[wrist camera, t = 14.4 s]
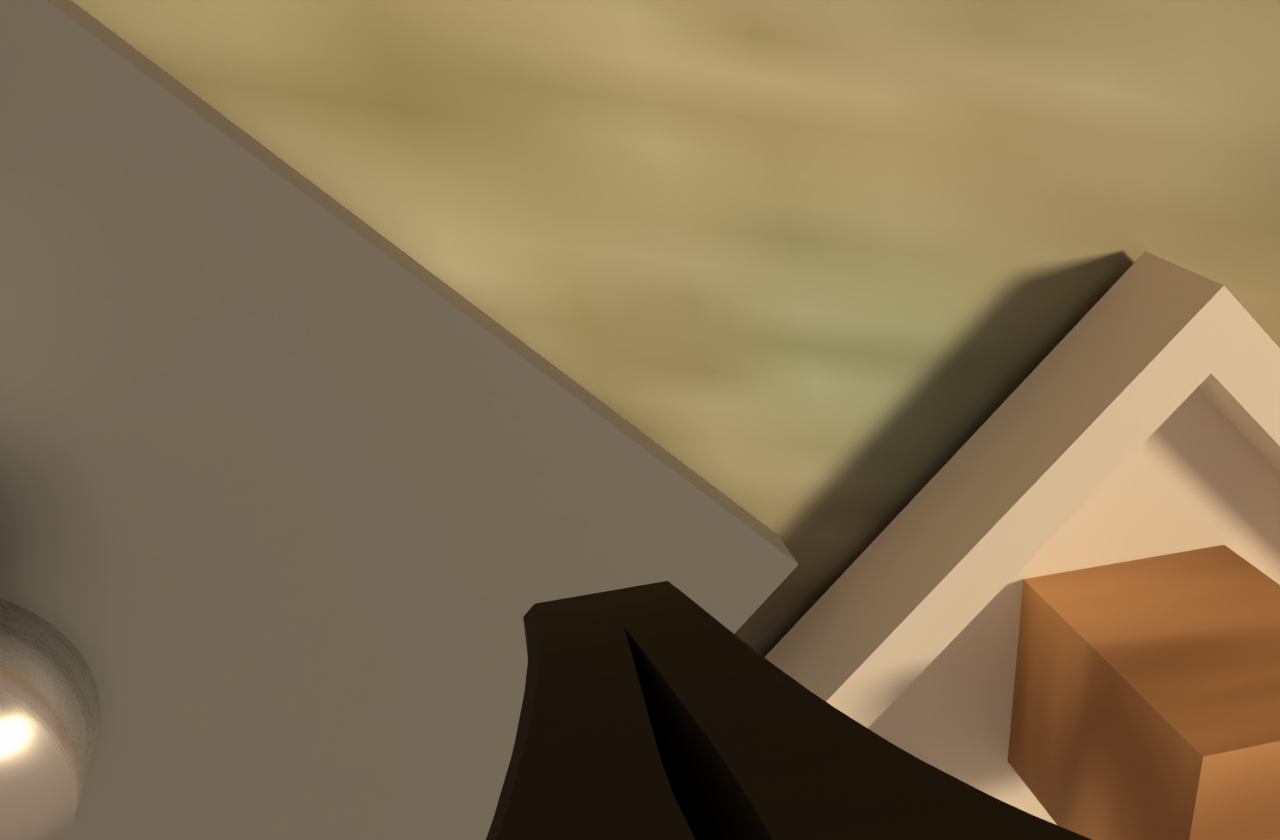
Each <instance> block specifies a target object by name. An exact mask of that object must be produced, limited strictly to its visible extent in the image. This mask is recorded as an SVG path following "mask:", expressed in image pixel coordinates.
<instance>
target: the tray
mask: <svg viewBox="0 0 1280 840" xmlns="http://www.w3.org/2000/svg"><path fill="white" fill-rule="evenodd" d="M1219 545H1225V546H1227V547H1228V548H1230V549H1231V550H1232V551H1234V552H1235V553H1236V554H1238V555H1239V556H1241V557H1242V558H1243V559H1245V560H1246V561H1248V562H1249V563H1250V564H1252V565H1253V566H1254V567H1256V568H1257V569H1259V570H1260V571H1261V572H1263V573H1264V574H1265V575H1267V576H1268V577H1270V578H1271V579H1272V580H1274V581H1275V582H1276V583H1278V584H1279V585H1280V348H1279V347H1278V346H1277V345H1276V344H1275V343H1274V342H1273V341H1272V339H1271V338H1270V337H1269V336H1268V335H1267V334H1266V333H1265V331H1264V330H1263V329H1262V328H1261V327H1260V326H1259V325H1258V324H1257V322H1256V321H1255V320H1254V319H1253V318H1252V317H1251V316H1250V315H1249V313H1248V312H1247V311H1246V310H1245V309H1244V308H1243V307H1242V305H1241V304H1240V303H1239V302H1238V301H1237V300H1236V299H1235V298H1234V296H1233V295H1232V294H1231V293H1230V292H1229V291H1228V290H1227V288H1226V287H1225V286H1224V285H1221V284H1219V283H1217V282H1215V281H1212V280H1210V279H1208V278H1205V277H1203V276H1201V275H1198V274H1196V273H1194V272H1192V271H1189V270H1187V269H1185V268H1182V267H1180V266H1178V265H1175V264H1173V263H1171V262H1169V261H1166V260H1164V259H1162V258H1159V257H1157V256H1155V255H1152V254H1150V253H1148V252H1146V251H1145V252H1144V253H1143V254H1142V255H1141V256H1140V257H1139V258H1138V259H1137V261H1136V262H1135V263H1134V264H1133V265H1132V266H1131V267H1130V268H1129V269H1128V270H1127V271H1126V272H1125V273H1124V274H1123V275H1122V277H1121V278H1120V279H1119V280H1118V281H1117V282H1116V283H1115V284H1114V285H1113V286H1112V287H1111V288H1110V289H1109V290H1108V291H1107V293H1106V294H1105V295H1104V296H1103V297H1102V298H1101V299H1100V300H1099V301H1098V302H1097V303H1096V304H1095V305H1094V306H1093V307H1092V309H1091V310H1090V311H1089V312H1088V313H1087V314H1086V315H1085V316H1084V317H1083V318H1082V319H1081V320H1080V321H1079V322H1078V323H1077V325H1076V326H1075V327H1074V328H1073V329H1072V330H1071V331H1070V332H1069V333H1068V334H1067V335H1066V336H1065V337H1064V338H1063V339H1062V341H1061V342H1060V343H1059V344H1058V345H1057V346H1056V347H1055V348H1054V349H1053V350H1052V351H1051V352H1050V353H1049V354H1048V355H1047V357H1046V358H1045V359H1044V360H1043V361H1042V362H1041V363H1040V364H1039V365H1038V366H1037V367H1036V368H1035V369H1034V370H1033V371H1032V373H1031V374H1030V375H1029V376H1028V377H1027V378H1026V379H1025V380H1024V381H1023V382H1022V383H1021V384H1020V385H1019V386H1018V387H1017V389H1016V390H1015V391H1014V392H1013V393H1012V394H1011V395H1010V396H1009V397H1008V398H1007V399H1006V400H1005V401H1004V402H1003V403H1002V405H1001V406H1000V407H999V408H998V409H997V410H996V411H995V412H994V413H993V414H992V415H991V416H990V417H989V418H988V419H987V421H986V422H985V423H984V424H983V425H982V426H981V427H980V428H979V429H978V430H977V431H976V432H975V433H974V434H973V435H972V437H971V438H970V439H969V440H968V441H967V442H966V443H965V444H964V445H963V446H962V447H961V448H960V449H959V450H958V451H957V452H956V454H955V455H954V456H953V457H952V458H951V459H950V460H949V461H948V462H947V463H946V464H945V465H944V466H943V467H942V468H941V470H940V471H939V472H938V473H937V474H936V475H935V476H934V477H933V478H932V479H931V480H930V481H929V482H928V483H927V484H926V486H925V487H924V488H923V489H922V490H921V491H920V492H919V493H918V494H917V495H916V496H915V497H914V498H913V499H912V500H911V502H910V503H909V504H908V505H907V506H906V507H905V508H904V509H903V510H902V511H901V512H900V513H899V514H898V515H897V516H896V518H895V519H894V520H893V521H892V522H891V523H890V524H889V525H888V526H887V527H886V528H885V529H884V530H883V531H882V532H881V534H880V535H879V536H878V537H877V538H876V539H875V540H874V541H873V542H872V543H871V544H870V545H869V546H868V547H867V548H866V550H865V551H864V552H863V553H862V554H861V555H860V556H859V557H858V558H857V559H856V560H855V561H854V562H853V563H852V564H851V566H850V567H849V568H848V569H847V570H846V571H845V572H844V573H843V574H842V575H841V576H840V577H839V578H838V579H837V580H836V582H835V583H834V584H833V585H832V586H831V587H830V588H829V589H828V590H827V591H826V592H825V593H824V594H823V595H822V596H821V598H820V599H819V600H818V601H817V602H816V603H815V604H814V605H813V606H812V607H811V608H810V609H809V610H808V611H807V612H806V614H805V615H804V616H803V617H802V618H801V619H800V620H799V621H798V622H797V623H796V624H795V625H794V626H793V627H792V628H791V630H790V631H789V632H788V633H787V634H786V635H785V636H784V637H783V638H782V639H781V640H780V641H779V642H778V643H777V644H776V646H775V647H774V648H773V649H772V650H771V651H770V652H769V653H768V654H767V655H766V656H765V657H764V658H766V659H767V660H768V661H770V662H771V663H772V664H774V665H775V666H776V667H778V668H779V669H781V670H782V671H783V672H785V673H786V674H787V675H789V676H790V677H792V678H793V679H794V680H796V681H797V682H799V683H800V684H801V685H803V686H804V687H805V688H807V689H808V690H810V691H811V692H812V693H814V694H815V695H817V696H818V697H820V698H821V699H823V700H824V701H826V702H827V703H829V704H830V705H832V706H833V707H834V708H836V709H838V710H839V711H841V712H842V713H844V714H846V715H847V716H849V717H850V718H852V719H854V720H855V721H857V722H858V723H860V724H862V725H863V726H865V727H866V728H868V729H870V730H871V731H873V732H874V733H876V734H878V735H879V736H881V737H882V738H884V739H885V740H887V741H889V742H890V743H892V744H894V745H896V746H897V747H899V748H901V749H903V750H904V751H906V752H908V753H910V754H911V755H913V756H915V757H917V758H919V759H920V760H922V761H924V762H926V763H928V764H930V765H932V766H934V767H936V768H938V769H939V770H941V771H943V772H945V773H947V774H949V775H951V776H953V777H955V778H957V779H959V780H961V781H963V782H965V783H967V784H969V785H971V786H973V787H974V788H976V789H978V790H980V791H982V792H984V793H986V794H988V795H990V796H992V797H994V798H996V799H999V800H1001V801H1003V802H1005V803H1007V804H1010V805H1012V806H1014V807H1016V808H1018V809H1020V810H1023V811H1025V812H1027V813H1029V814H1031V815H1034V816H1036V817H1039V818H1041V819H1043V820H1046V821H1048V822H1051V823H1053V824H1056V823H1055V822H1054V820H1053V819H1052V818H1051V816H1050V815H1049V814H1048V813H1047V811H1046V810H1045V809H1044V807H1043V806H1042V805H1041V804H1040V802H1039V801H1038V800H1037V798H1036V797H1035V796H1034V795H1033V793H1032V792H1031V791H1030V789H1029V788H1028V787H1027V786H1026V784H1025V783H1024V782H1023V781H1022V779H1021V778H1020V777H1019V775H1018V774H1017V773H1016V772H1015V770H1014V769H1013V768H1012V766H1011V765H1010V764H1009V763H1008V750H1009V739H1010V727H1011V716H1012V705H1013V693H1014V682H1015V670H1016V659H1017V647H1018V636H1019V625H1020V613H1021V602H1022V590H1023V579H1027V578H1033V577H1039V576H1045V575H1050V574H1056V573H1062V572H1068V571H1074V570H1080V569H1085V568H1091V567H1097V566H1103V565H1109V564H1114V563H1120V562H1126V561H1132V560H1138V559H1144V558H1149V557H1155V556H1161V555H1167V554H1173V553H1179V552H1184V551H1190V550H1196V549H1202V548H1208V547H1213V546H1219ZM1056 825H1057V824H1056Z"/></svg>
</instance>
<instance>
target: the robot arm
mask: <svg viewBox="0 0 1280 840" xmlns="http://www.w3.org/2000/svg"><path fill="white" fill-rule="evenodd" d="M523 620H524V629H525V638H526V646H527V655H528V664H527V674H526V683H525V692H524V697H523V702H522V708H521V713H520V718H519V723H518V728H517V734H516V739H515V743H514V748H513V752H512V756H511V759H510V763H509V766H508V770H507V773H506V777H505V780H504V783H503V787H502V790H501V794H500V797H499V801H498V804H497V807H496V811H495V814H494V817H493V820H492V823H491V826H490V829H489V832H488V835H487V838H486V840H1092V839H1089V838H1087V837H1085V836H1082V835H1080V834H1077V833H1075V832H1072V831H1070V830H1068V829H1065V828H1063V827H1060V826H1058V825H1056V824H1053V823H1051V822H1048V821H1046V820H1043V819H1041V818H1039V817H1036V816H1034V815H1031V814H1029V813H1027V812H1025V811H1023V810H1020V809H1018V808H1016V807H1014V806H1012V805H1010V804H1007V803H1005V802H1003V801H1001V800H999V799H996V798H994V797H992V796H990V795H988V794H986V793H984V792H982V791H980V790H978V789H976V788H974V787H973V786H971V785H969V784H967V783H965V782H963V781H961V780H959V779H957V778H955V777H953V776H951V775H949V774H947V773H945V772H943V771H941V770H939V769H938V768H936V767H934V766H932V765H930V764H928V763H926V762H924V761H922V760H920V759H919V758H917V757H915V756H913V755H911V754H910V753H908V752H906V751H904V750H903V749H901V748H899V747H897V746H896V745H894V744H892V743H890V742H889V741H887V740H885V739H884V738H882V737H881V736H879V735H878V734H876V733H874V732H873V731H871V730H870V729H868V728H866V727H865V726H863V725H862V724H860V723H858V722H857V721H855V720H854V719H852V718H850V717H849V716H847V715H846V714H844V713H842V712H841V711H839V710H838V709H836V708H834V707H833V706H832V705H830V704H829V703H827V702H826V701H824V700H823V699H821V698H820V697H818V696H817V695H815V694H814V693H812V692H811V691H810V690H808V689H807V688H805V687H804V686H803V685H801V684H800V683H799V682H797V681H796V680H794V679H793V678H792V677H790V676H789V675H787V674H786V673H785V672H783V671H782V670H781V669H779V668H778V667H776V666H775V665H774V664H772V663H771V662H770V661H768V660H767V659H766V658H764V657H763V656H762V655H761V654H759V653H758V652H757V651H755V650H754V649H753V648H751V647H750V646H749V645H748V644H746V643H745V642H744V641H743V640H741V639H740V638H739V637H738V636H736V635H735V634H734V633H733V632H731V631H730V630H729V629H727V628H726V627H725V626H724V625H723V624H721V623H720V622H719V621H718V620H716V619H715V618H714V617H713V616H711V615H710V614H709V613H708V612H707V611H705V610H704V609H703V608H702V607H700V606H699V605H698V604H697V603H695V602H694V601H693V600H692V599H690V598H689V597H688V596H687V595H685V594H684V593H683V592H682V591H680V590H679V589H678V588H676V587H675V586H674V585H673V584H671V583H670V582H669V581H663V582H657V583H652V584H646V585H640V586H634V587H628V588H622V589H617V590H611V591H605V592H599V593H593V594H587V595H582V596H576V597H570V598H564V599H558V600H552V601H547V602H541V603H535V604H534V605H533V606H532V607H531V608H530V610H529V611H528V612H527V613H526V614H525V615H524V617H523Z"/></svg>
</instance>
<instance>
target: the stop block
mask: <svg viewBox="0 0 1280 840" xmlns="http://www.w3.org/2000/svg"><path fill="white" fill-rule="evenodd" d="M1008 763H1009V764H1010V765H1011V766H1012V768H1013V769H1014V770H1015V772H1016V773H1017V774H1018V775H1019V777H1020V778H1021V779H1022V781H1023V782H1024V783H1025V784H1026V786H1027V787H1028V788H1029V789H1030V791H1031V792H1032V793H1033V795H1034V796H1035V797H1036V798H1037V800H1038V801H1039V802H1040V804H1041V805H1042V806H1043V807H1044V809H1045V810H1046V811H1047V813H1048V814H1049V815H1050V816H1051V818H1052V819H1053V820H1054V822H1055V823H1056V824H1057V825H1058V826H1060V827H1063V828H1065V829H1068V830H1070V831H1072V832H1075V833H1077V834H1080V835H1082V836H1085V837H1087V838H1089V839H1092V840H1280V585H1279V584H1278V583H1276V582H1275V581H1274V580H1272V579H1271V578H1270V577H1268V576H1267V575H1265V574H1264V573H1263V572H1261V571H1260V570H1259V569H1257V568H1256V567H1254V566H1253V565H1252V564H1250V563H1249V562H1248V561H1246V560H1245V559H1243V558H1242V557H1241V556H1239V555H1238V554H1236V553H1235V552H1234V551H1232V550H1231V549H1230V548H1228V547H1227V546H1225V545H1219V546H1213V547H1208V548H1202V549H1196V550H1190V551H1184V552H1179V553H1173V554H1167V555H1161V556H1155V557H1149V558H1144V559H1138V560H1132V561H1126V562H1120V563H1114V564H1109V565H1103V566H1097V567H1091V568H1085V569H1080V570H1074V571H1068V572H1062V573H1056V574H1050V575H1045V576H1039V577H1033V578H1027V579H1023V590H1022V602H1021V613H1020V625H1019V636H1018V647H1017V659H1016V670H1015V682H1014V693H1013V705H1012V716H1011V727H1010V739H1009V750H1008Z"/></svg>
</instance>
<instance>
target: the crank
mask: <svg viewBox="0 0 1280 840" xmlns="http://www.w3.org/2000/svg"><path fill="white" fill-rule="evenodd" d="M100 712H101V711H100V700H99V694H98V690H97V686H96V682H95V680H94V677H93V675H92V673H91V670H90V668H89V666H88V665H87V663H86V661H85V660H84V658H83V657H82V655H81V653H80V652H79V651H78V650H77V649H76V647H75V646H74V645H73V644H72V643H71V642H70V640H69V639H68V638H67V637H65V636H64V635H63V634H62V633H61V632H60V631H59V630H58V629H57V628H56V627H54V626H53V625H51V624H50V623H48V622H47V621H46V620H44V619H43V618H41V617H40V616H38V615H36V614H34V613H32V612H31V611H29V610H27V609H25V608H23V607H21V606H19V605H16V604H14V603H11V602H9V601H6V600H4V599H0V840H67V838H68V835H69V832H70V829H71V825H72V822H73V818H74V815H75V812H76V808H77V805H78V801H79V798H80V794H81V791H82V787H83V784H84V780H85V777H86V773H87V770H88V766H89V763H90V759H91V756H92V752H93V749H94V745H95V742H96V738H97V734H98V730H99V724H100Z"/></svg>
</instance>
